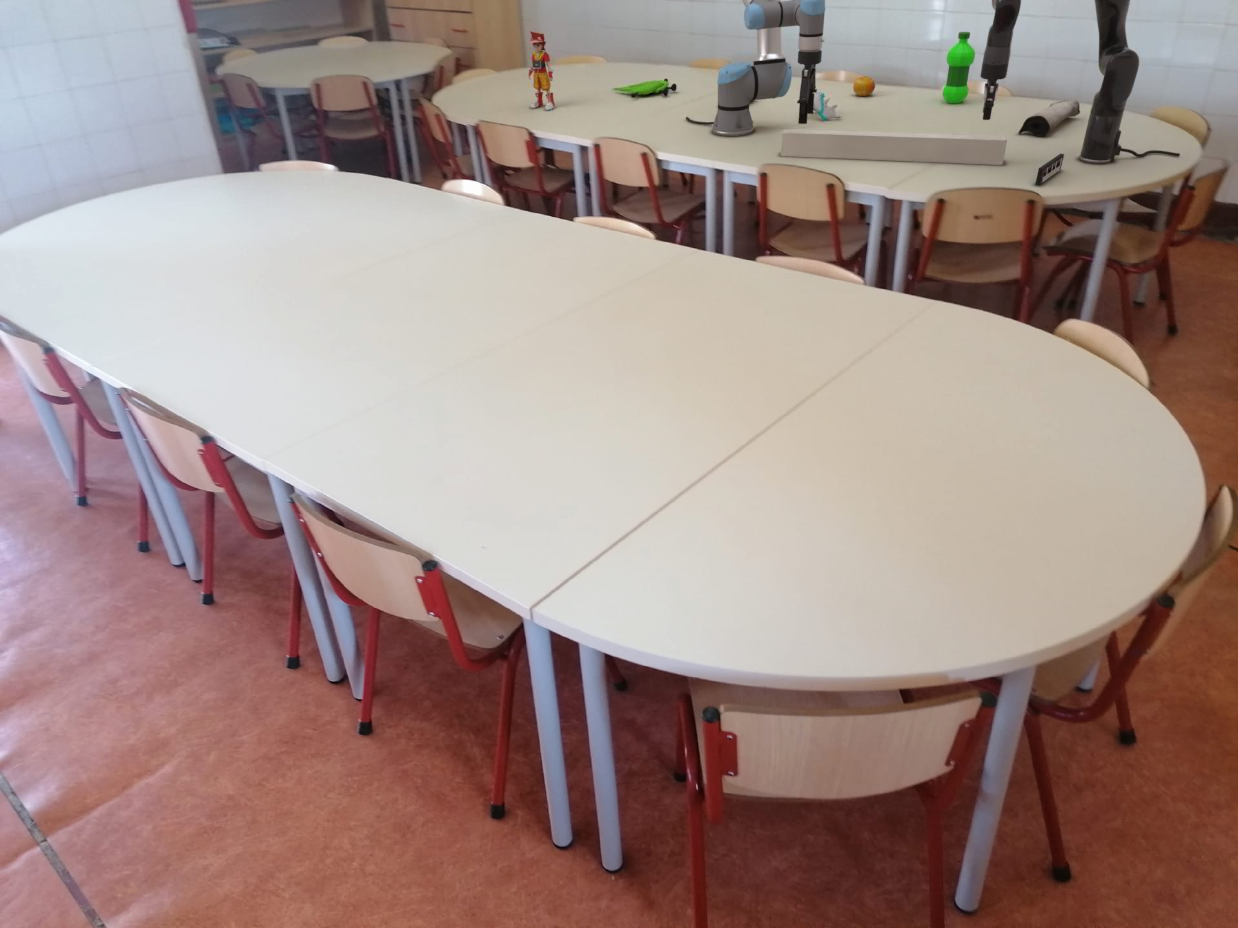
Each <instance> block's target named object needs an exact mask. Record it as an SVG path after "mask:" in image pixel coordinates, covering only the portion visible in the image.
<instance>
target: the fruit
mask: <svg viewBox="0 0 1238 928" xmlns="http://www.w3.org/2000/svg"><path fill="white" fill-rule="evenodd" d="M852 87H853V92H854V93H855V94H856V95H857V96H859V97H866V96H870V95H871V94H872V93H873V92H874V91H875V88H876V82H875V80H874V79H873V78H871V77H870V76H861V77H858V78H856V80H855V81H854V83H853V86H852Z"/></svg>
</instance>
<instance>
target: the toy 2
mask: <svg viewBox="0 0 1238 928" xmlns="http://www.w3.org/2000/svg"><path fill="white" fill-rule="evenodd" d="M669 85H670V83H669V79H668V78H664V79H663V80H649V81H644V82H640V83H634V84H629V85H627V86H621V87H613V88H612V89H613V90H616V91H619V92H623V93H627V94H628V93H629V94H631V95H630V96H631V98H632V99H634V98H636V96H637V95H650V94H652V93H654V94H658V93H662V95H663V96H665V97H667V96H668V95H669V90H671V91H672V92H676V91H677V84H676V83H672V84H671V86H669Z"/></svg>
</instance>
